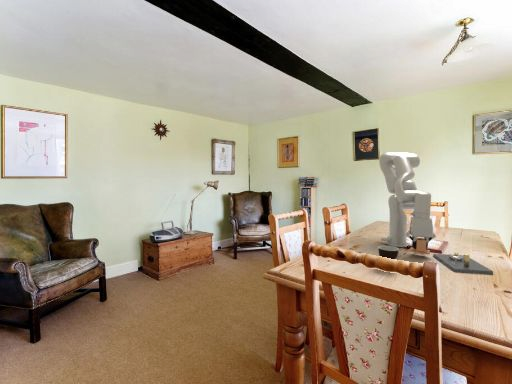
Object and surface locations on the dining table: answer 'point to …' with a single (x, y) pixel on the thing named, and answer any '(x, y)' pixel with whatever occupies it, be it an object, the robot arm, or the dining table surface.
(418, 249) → the hollow square star tube
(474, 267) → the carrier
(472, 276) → the dining table surface
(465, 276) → the dining table surface
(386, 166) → the robot arm
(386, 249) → the coffee mug
